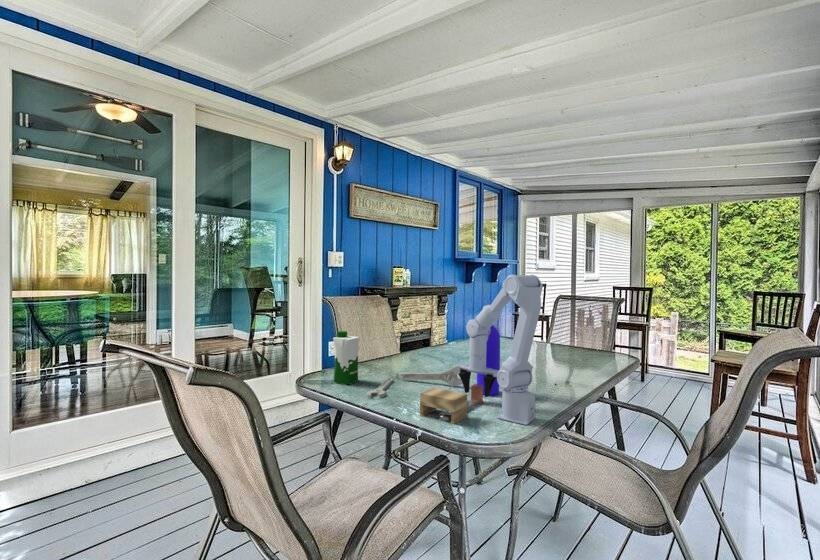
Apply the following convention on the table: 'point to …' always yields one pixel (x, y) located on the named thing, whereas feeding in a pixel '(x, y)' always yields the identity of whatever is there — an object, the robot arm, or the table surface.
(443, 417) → the token
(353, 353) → the milk carton
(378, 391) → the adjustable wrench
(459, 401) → the wooden bridge block
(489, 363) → the bottle
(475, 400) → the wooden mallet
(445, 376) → the wrench
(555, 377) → the table surface
